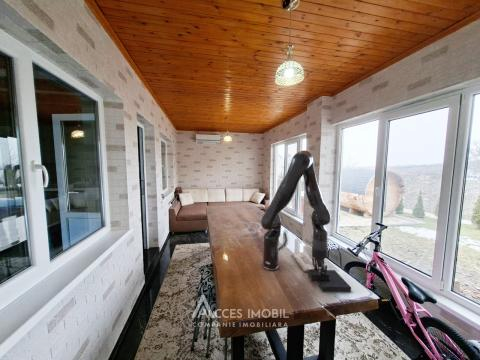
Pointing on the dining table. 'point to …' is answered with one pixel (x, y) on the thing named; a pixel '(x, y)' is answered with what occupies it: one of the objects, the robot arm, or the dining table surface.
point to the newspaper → (304, 261)
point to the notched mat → (334, 283)
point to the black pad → (314, 276)
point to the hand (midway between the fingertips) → (318, 278)
